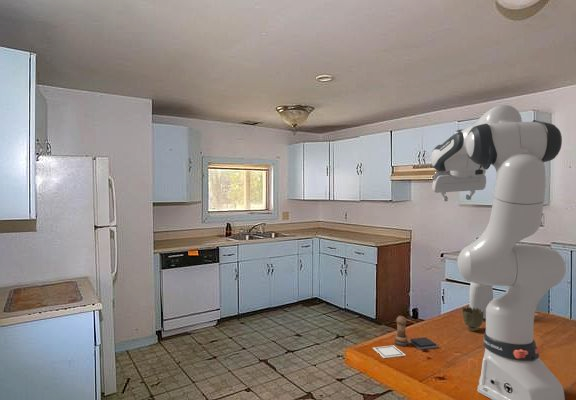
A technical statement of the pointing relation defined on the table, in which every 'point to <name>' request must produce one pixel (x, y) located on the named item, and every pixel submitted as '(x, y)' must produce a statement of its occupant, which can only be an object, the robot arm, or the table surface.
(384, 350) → the white flat square plate
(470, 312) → the cup
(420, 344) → the ink pad
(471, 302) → the soap bottle
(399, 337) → the stamp
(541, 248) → the robot arm
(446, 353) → the table surface
